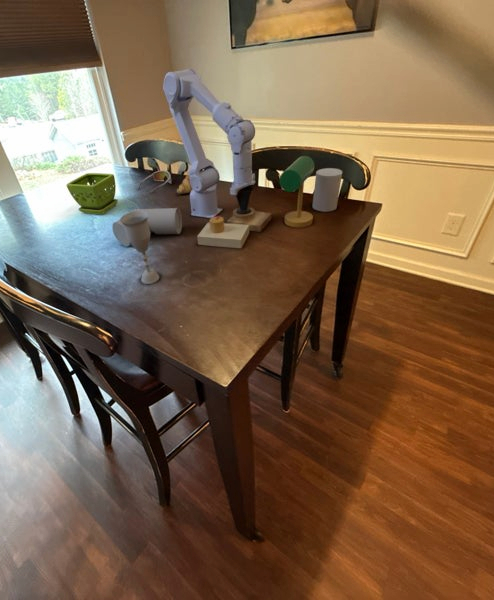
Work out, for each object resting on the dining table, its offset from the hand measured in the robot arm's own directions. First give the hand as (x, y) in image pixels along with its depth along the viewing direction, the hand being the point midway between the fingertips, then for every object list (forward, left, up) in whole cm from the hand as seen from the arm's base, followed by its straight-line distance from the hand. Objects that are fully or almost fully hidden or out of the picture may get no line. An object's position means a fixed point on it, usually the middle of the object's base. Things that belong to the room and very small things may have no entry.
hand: (243, 208), depth 104 cm
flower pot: (-63, -7, -5) cm, 64 cm away
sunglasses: (-56, +23, -5) cm, 61 cm away
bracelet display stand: (+17, +6, -5) cm, 19 cm away
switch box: (+2, 0, -5) cm, 5 cm away
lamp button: (0, 0, -2) cm, 2 cm away
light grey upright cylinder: (+22, +20, -5) cm, 30 cm away
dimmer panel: (-1, -13, -5) cm, 14 cm away
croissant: (-36, +25, -5) cm, 44 cm away
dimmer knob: (-3, -13, -2) cm, 14 cm away
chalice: (-10, -40, -5) cm, 42 cm away
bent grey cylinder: (-25, -19, -5) cm, 32 cm away
